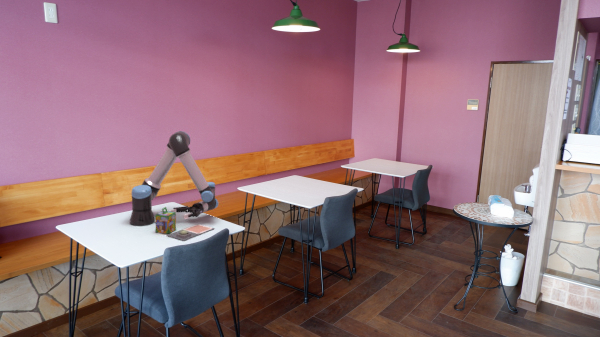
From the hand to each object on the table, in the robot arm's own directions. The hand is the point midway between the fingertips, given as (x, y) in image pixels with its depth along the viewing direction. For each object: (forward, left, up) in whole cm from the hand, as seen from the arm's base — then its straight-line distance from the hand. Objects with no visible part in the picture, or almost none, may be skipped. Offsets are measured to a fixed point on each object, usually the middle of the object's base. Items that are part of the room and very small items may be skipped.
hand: (175, 215), depth 245 cm
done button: (+15, -9, -7) cm, 19 cm away
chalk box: (-1, -8, -9) cm, 12 cm away
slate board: (+13, -1, -8) cm, 16 cm away
